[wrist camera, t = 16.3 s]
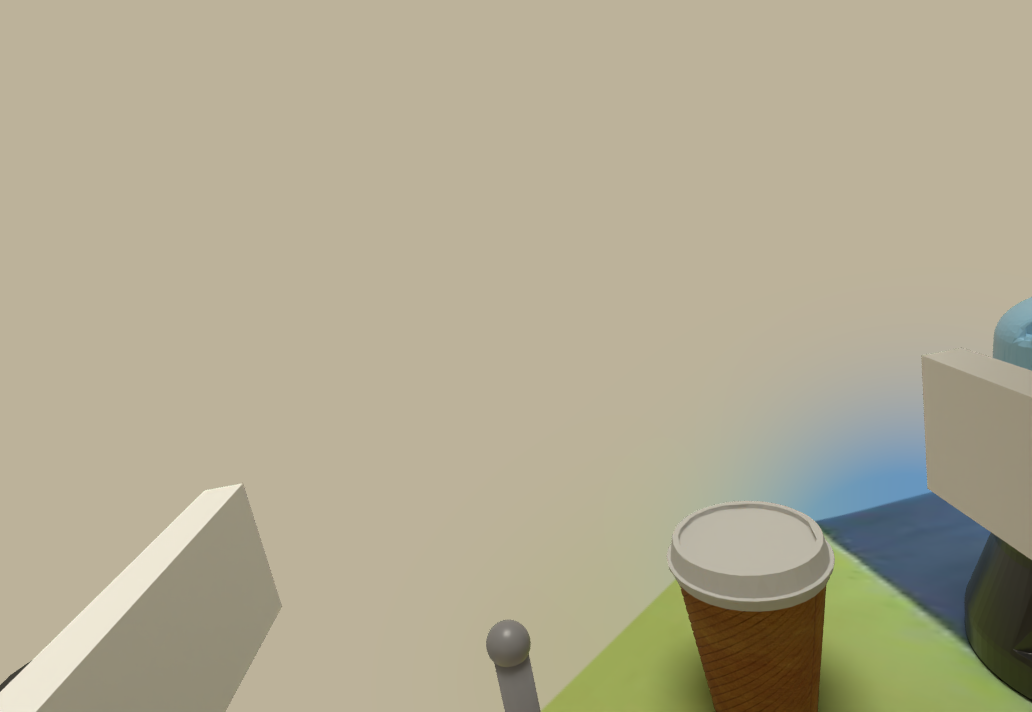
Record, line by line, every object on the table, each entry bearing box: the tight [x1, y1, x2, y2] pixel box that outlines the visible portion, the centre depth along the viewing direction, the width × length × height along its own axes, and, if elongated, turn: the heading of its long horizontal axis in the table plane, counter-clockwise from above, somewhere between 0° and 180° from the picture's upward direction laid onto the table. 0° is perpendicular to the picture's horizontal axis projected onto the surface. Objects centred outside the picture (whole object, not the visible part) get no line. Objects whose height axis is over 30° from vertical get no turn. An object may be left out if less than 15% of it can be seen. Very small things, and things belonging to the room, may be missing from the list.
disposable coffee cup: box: [667, 501, 835, 712], centre depth 41 cm, size 10×10×12 cm
